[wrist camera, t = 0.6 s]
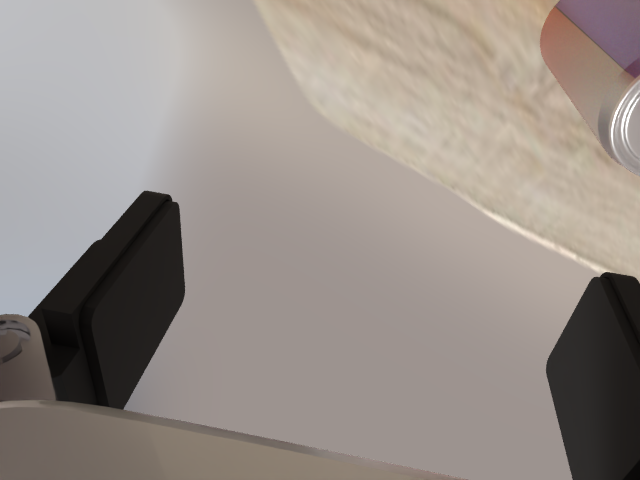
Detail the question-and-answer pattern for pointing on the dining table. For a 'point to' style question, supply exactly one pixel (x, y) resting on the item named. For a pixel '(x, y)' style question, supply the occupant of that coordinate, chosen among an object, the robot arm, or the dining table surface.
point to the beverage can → (599, 69)
